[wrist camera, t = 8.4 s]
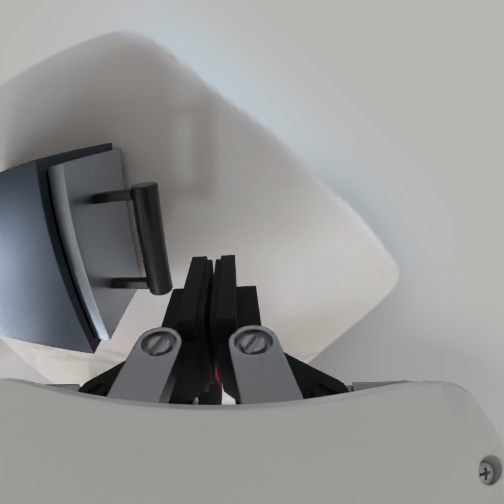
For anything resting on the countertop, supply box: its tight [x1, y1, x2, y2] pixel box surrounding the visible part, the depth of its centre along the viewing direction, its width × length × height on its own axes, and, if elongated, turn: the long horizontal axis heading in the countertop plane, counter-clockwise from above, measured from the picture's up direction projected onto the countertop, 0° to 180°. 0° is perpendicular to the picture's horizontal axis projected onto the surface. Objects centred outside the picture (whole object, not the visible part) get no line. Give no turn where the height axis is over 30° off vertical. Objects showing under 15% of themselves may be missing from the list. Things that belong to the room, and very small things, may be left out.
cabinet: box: [0, 143, 112, 353], centre depth 17 cm, size 15×13×10 cm
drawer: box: [46, 149, 173, 340], centre depth 17 cm, size 18×11×8 cm, turn 91°
